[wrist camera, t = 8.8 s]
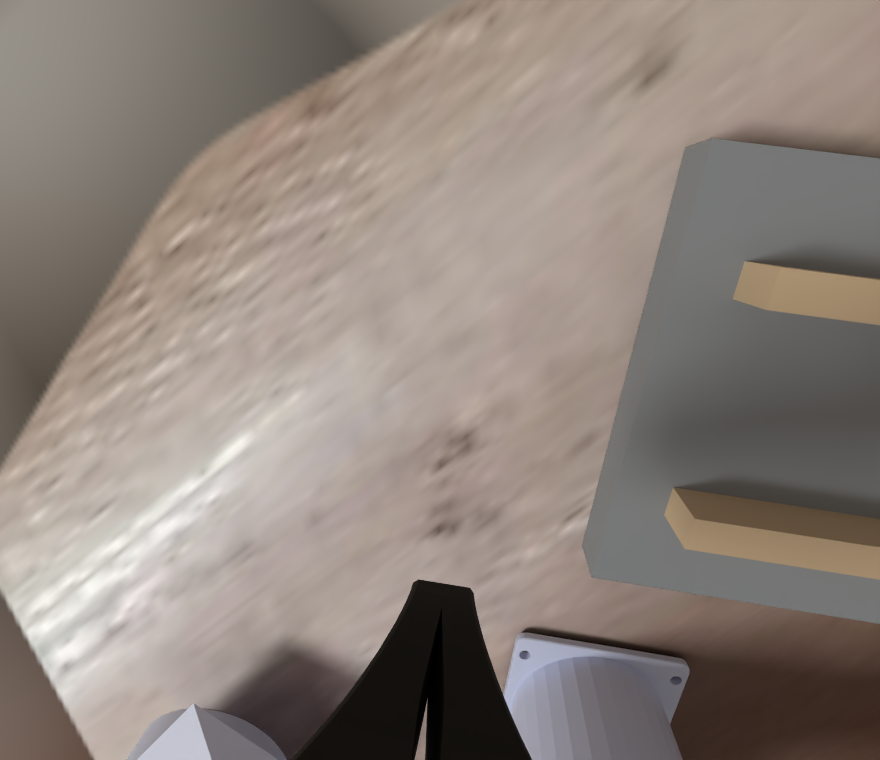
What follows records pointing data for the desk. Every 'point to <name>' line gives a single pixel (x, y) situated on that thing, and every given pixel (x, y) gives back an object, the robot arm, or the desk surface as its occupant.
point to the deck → (754, 390)
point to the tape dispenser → (204, 738)
